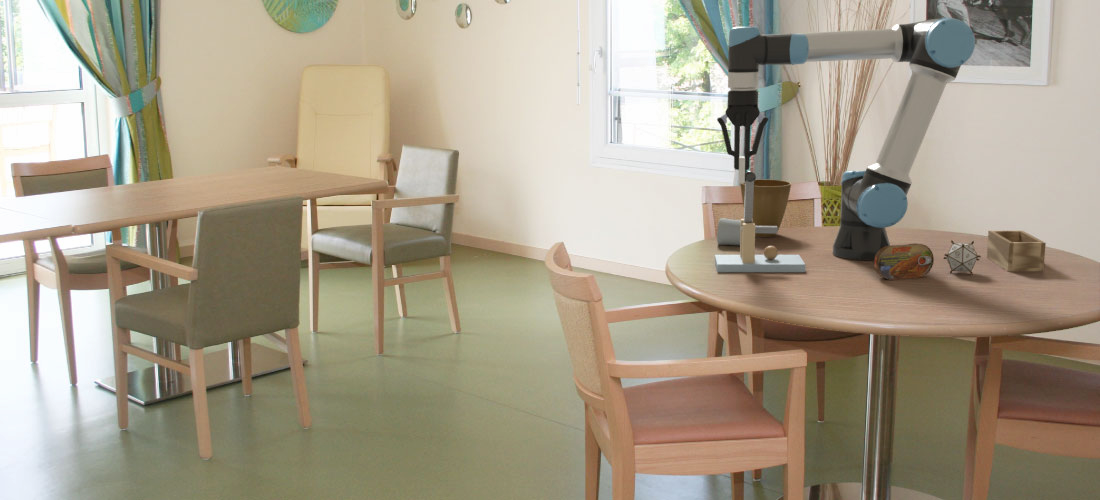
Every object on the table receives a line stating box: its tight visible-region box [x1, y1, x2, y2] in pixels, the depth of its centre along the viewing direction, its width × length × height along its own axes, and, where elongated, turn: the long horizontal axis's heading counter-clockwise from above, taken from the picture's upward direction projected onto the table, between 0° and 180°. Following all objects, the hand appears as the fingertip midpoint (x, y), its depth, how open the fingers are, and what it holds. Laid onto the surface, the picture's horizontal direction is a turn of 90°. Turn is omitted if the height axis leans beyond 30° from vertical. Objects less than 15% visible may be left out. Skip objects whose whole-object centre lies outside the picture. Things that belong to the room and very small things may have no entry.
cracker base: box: [714, 218, 806, 273], centre depth 267 cm, size 22×12×12 cm, turn 84°
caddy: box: [986, 230, 1047, 272], centre depth 264 cm, size 9×17×7 cm, turn 174°
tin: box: [873, 243, 935, 281], centre depth 252 cm, size 15×3×8 cm, turn 102°
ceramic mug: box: [716, 217, 741, 247], centre depth 298 cm, size 11×8×8 cm
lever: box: [741, 170, 779, 235], centre depth 264 cm, size 9×4×17 cm, turn 84°
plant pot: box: [739, 178, 792, 238], centre depth 309 cm, size 15×15×16 cm
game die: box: [943, 239, 982, 275], centre depth 256 cm, size 9×8×10 cm
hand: (741, 182), depth 264 cm, fingers closed
